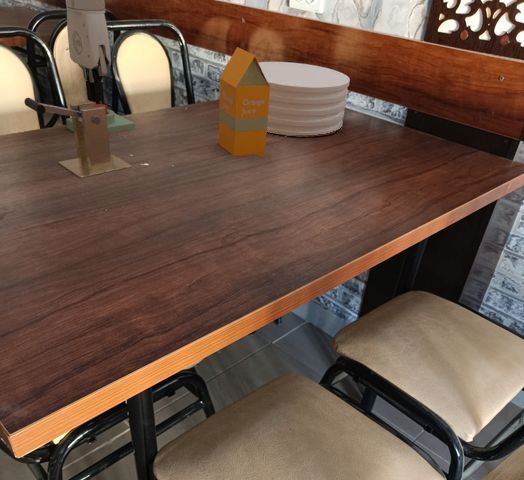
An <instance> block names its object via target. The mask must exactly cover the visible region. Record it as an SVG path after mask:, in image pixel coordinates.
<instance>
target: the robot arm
mask: <svg viewBox="0 0 524 480" xmlns="http://www.w3.org/2000/svg"><path fill="white" fill-rule="evenodd" d="M105 3H106V2H105V0H65V5H66V30H67V40H68V41H67V42H68V51H69V52H68V53H69V57H70V60H71V61H72V62H73V63H75V64H77V65H78V66H79V67H80V69H81V70H82V74H83V79H84V81H85V87H86V96H87V97H86V98H87V101H88V102H89V101H92V102H94V103H96V102H104V101H105V93H104V84H103V82H104V77H105V76H106V77H107V76H108V74H109V72H108V68H110V67H111V63H112V58H111V46H110V38H109V31H108V24H107V21H106V15H105V14H106V4H105Z"/></svg>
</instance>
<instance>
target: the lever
mask: <svg viewBox="0 0 524 480" xmlns="http://www.w3.org/2000/svg"><path fill="white" fill-rule="evenodd" d="M24 105H25V106H26V107H27V108H29V109H31V110H33V111H35V112H36V113H38V114H40V115H43V114H45V113H46V112H47V113H53V114H57V115H62V116H68V117H72V116H73V117H78V120H79V121H81V122H82V117H81V109H88V108H85V107H80V109H79V111H77V110H72V109H70V108H66V107H62V106H56V105H52V104H47V103H42V102H38V101H36V100H35V99H32V98H31V97H26V98H24Z"/></svg>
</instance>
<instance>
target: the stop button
mask: <svg viewBox="0 0 524 480" xmlns="http://www.w3.org/2000/svg"><path fill="white" fill-rule="evenodd" d="M94 104H95V107H105V110H106V115H107V114H108V112H107V109H108V106H107V105H106V104H103V103H94Z"/></svg>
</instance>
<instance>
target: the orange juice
mask: <svg viewBox="0 0 524 480" xmlns="http://www.w3.org/2000/svg"><path fill="white" fill-rule="evenodd" d="M258 62H259V61H258V59H257V57H256V55H255V54H253V53H251V52H249V51H247V50H245V49H243V48H241V47H238V46H236V48H235V50H234V52H233V54H231V57H230V59H229V60H228V62H227V64H226V65H225V67H224V69H223V70H222V72H221V74H220V76H219V100H218V101H219V102H218V103H219V104H218V105H219V106H218V144H219V145H220V146H221V147H222V148H224V149H225V150H226V151H227V152H228V153H229V154H231V155H232V157H243V156H252V155H253V156H254V155H256V156H260V157H262V156H265V157H266V144H267V134H268V133H267V123H268V107H269V94H270V85H269V84H268V82H267V80H266V78H265V76H264V74H263V72H262V70H261V68H260V66H259V64H258Z"/></svg>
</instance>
